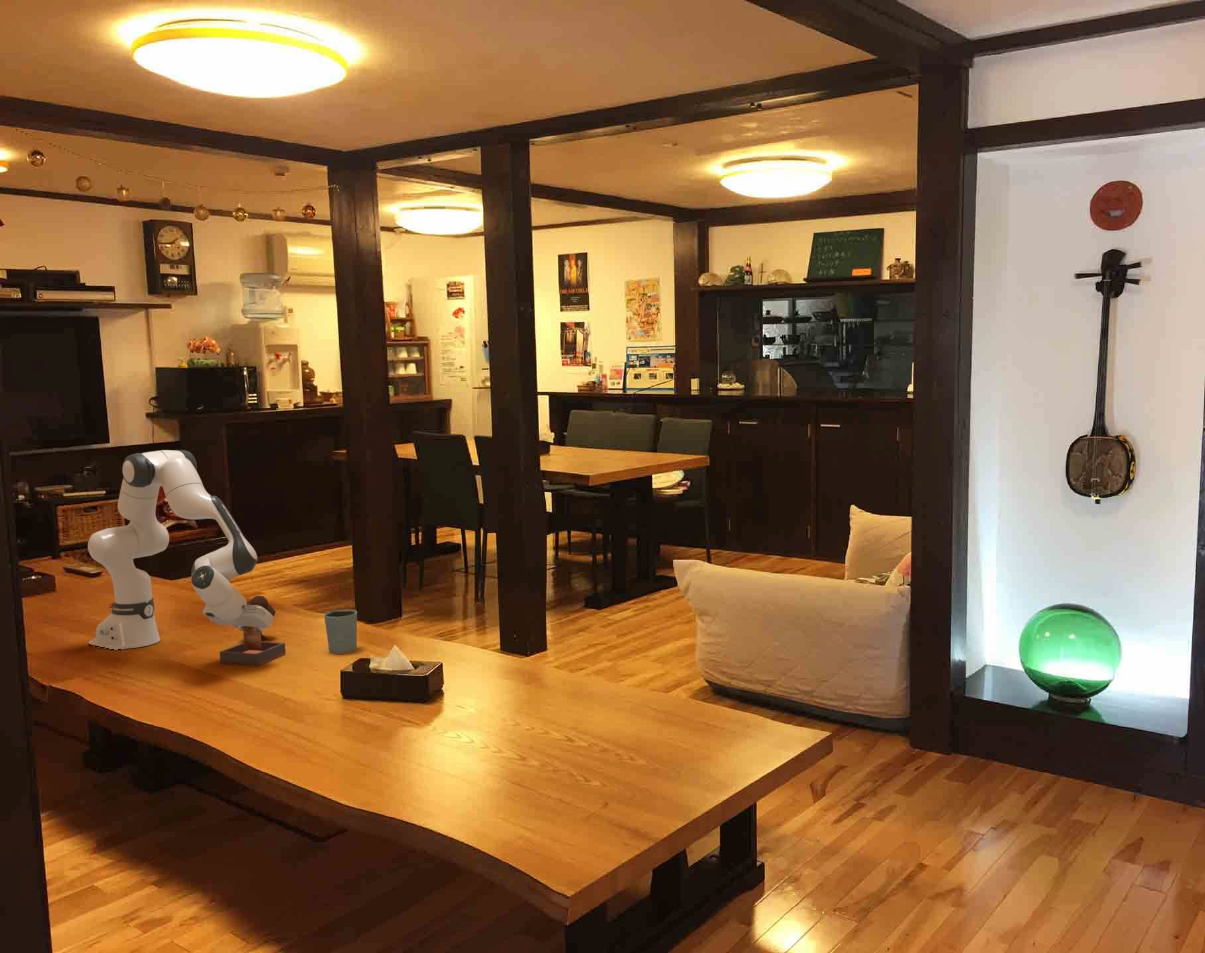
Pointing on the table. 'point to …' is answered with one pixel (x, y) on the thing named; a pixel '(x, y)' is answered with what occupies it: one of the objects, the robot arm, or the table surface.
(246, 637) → the tea canister
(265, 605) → the ice cream bowl
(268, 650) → the lacquer tray
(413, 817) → the table surface
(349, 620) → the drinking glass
